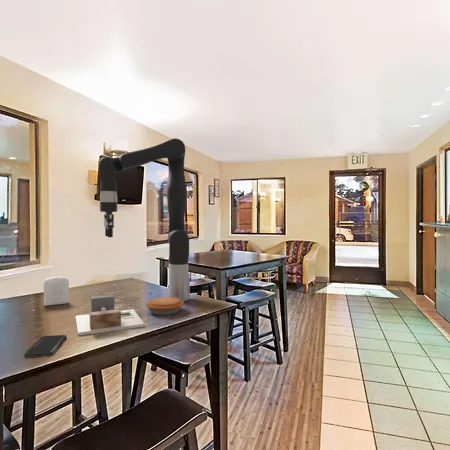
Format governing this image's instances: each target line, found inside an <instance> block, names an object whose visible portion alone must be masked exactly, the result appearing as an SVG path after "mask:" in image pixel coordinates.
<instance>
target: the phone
mask: <svg viewBox="0 0 450 450" xmlns="http://www.w3.org/2000/svg"><path fill="white" fill-rule="evenodd" d="M66 339H67V335H66V334H59V335H58V334H57V335H43V336H41V337H40V338H38V340H37V341H35V343H33V345H31V346H30V347H29V348H28V349H27V350H26V351H25V352H24V353H23V354H24V355H23V356H25V358H32V357H33V358H34V357H35V358H36V357H38V358H39V357H51V356H53V355H55V353H57V351H58V349H59V348H61V346H62V344H64V342H65V341H66Z"/></svg>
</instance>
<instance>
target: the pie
mask: <svg viewBox="0 0 450 450" xmlns="http://www.w3.org/2000/svg"><path fill="white" fill-rule="evenodd" d="M184 304H185V301H181V300H179V299H177V298H172V297H169V296H167V297H156V298H153V299H150V300H149V301H147V302H146V303H145V306H146V308H148V310H149V312H150V313H151V314H153V315H154V316H155V315H156V316H169V315H174V314H178V312H179V311H180V310H181V308H182V306H183V305H184Z"/></svg>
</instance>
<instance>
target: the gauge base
mask: <svg viewBox="0 0 450 450" xmlns="http://www.w3.org/2000/svg"><path fill="white" fill-rule="evenodd" d="M120 311H121V313H129V312H130V314H129V315H121V326H117V327H110V328H102V329H95V330H90V313H89V314H88V313H87V314H80V315H75V322H76V323H75V324H76V331H77V336H85V335H92V334H99V333H107V332H113V331H114V332H115V331H121V330H129V329H136V328H142V327H145V322H144V321H143V320H142V318H141V317H140V316H139V314H138V313H137V312H136V311H135V309H134V308H131V309H123V310H120Z"/></svg>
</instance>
